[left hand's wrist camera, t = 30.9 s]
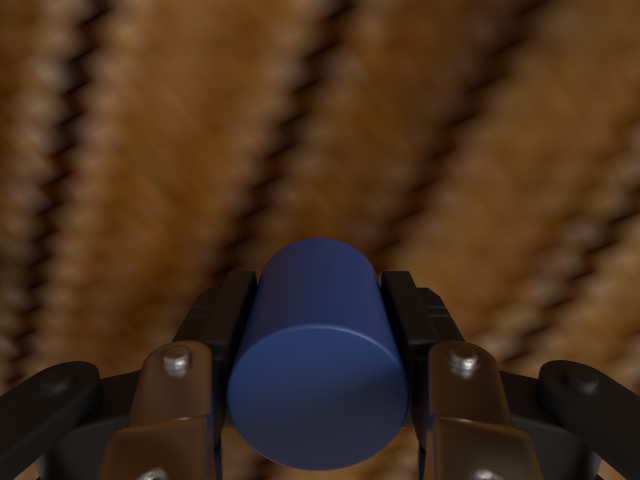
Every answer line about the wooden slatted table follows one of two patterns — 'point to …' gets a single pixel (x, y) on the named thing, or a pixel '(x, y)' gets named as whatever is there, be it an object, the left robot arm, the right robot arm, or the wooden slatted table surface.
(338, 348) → the canister
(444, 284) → the wooden slatted table surface
